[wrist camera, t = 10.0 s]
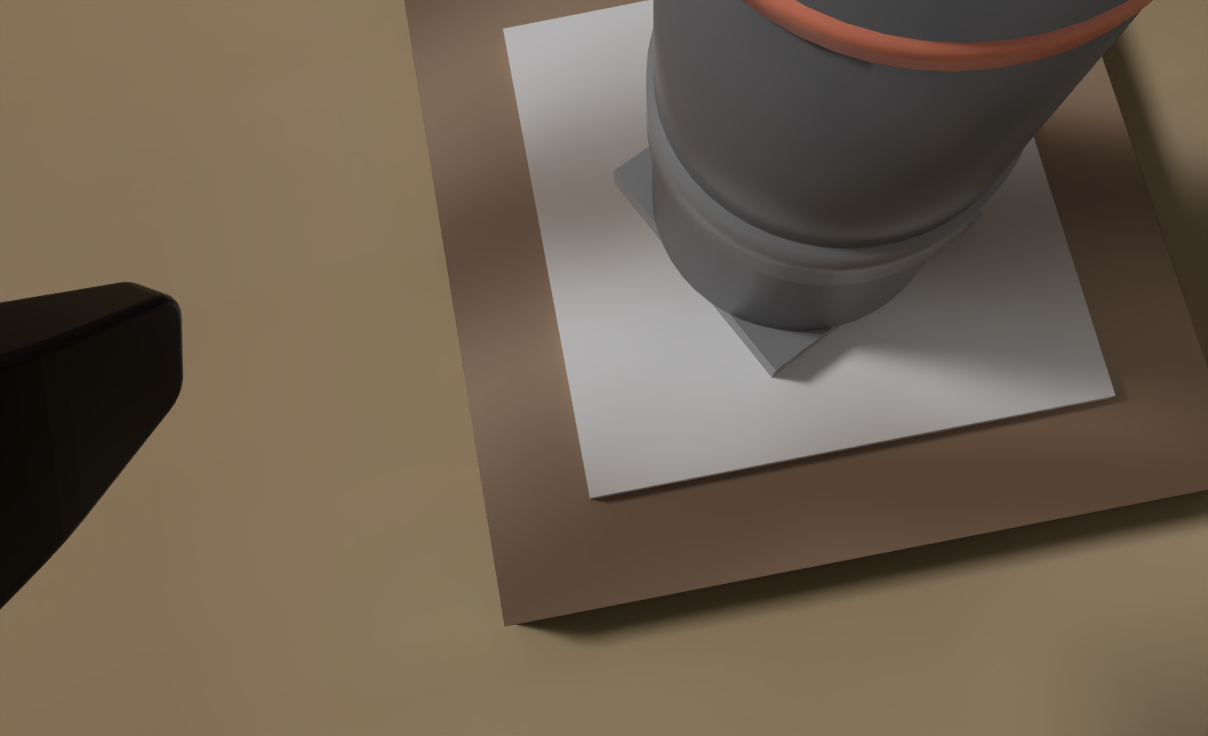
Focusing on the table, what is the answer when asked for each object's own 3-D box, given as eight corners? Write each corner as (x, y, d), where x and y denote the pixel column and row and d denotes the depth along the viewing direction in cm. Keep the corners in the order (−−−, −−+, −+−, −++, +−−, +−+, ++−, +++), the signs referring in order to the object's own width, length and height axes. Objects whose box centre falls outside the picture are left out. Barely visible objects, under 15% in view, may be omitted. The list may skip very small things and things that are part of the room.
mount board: (1210, 488, 19) (1257, 480, 18) (513, 623, 19) (502, 627, 18) (1011, -112, 22) (1036, -161, 21) (413, 5, 22) (396, -36, 21)
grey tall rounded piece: (997, 229, 19) (1453, -240, 8) (769, 402, 18) (935, 144, 8) (811, 23, 20) (994, -621, 9) (590, 180, 20) (518, -312, 9)
